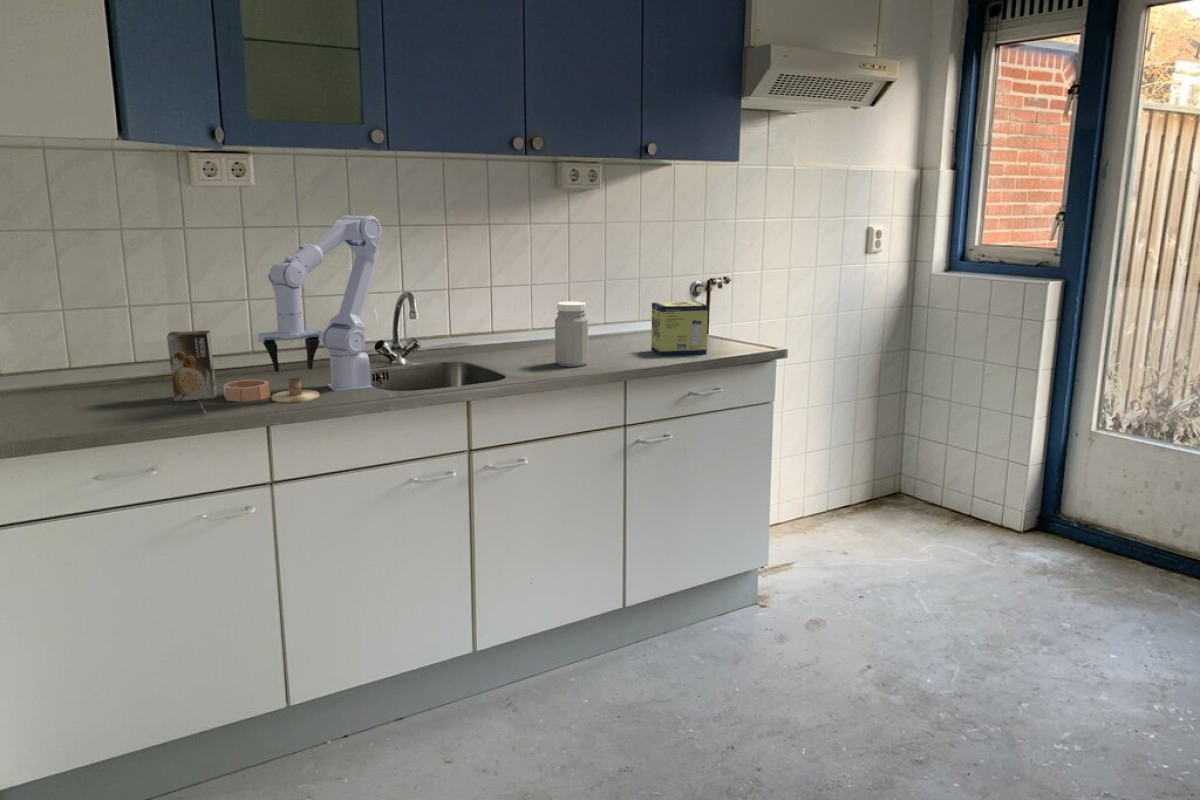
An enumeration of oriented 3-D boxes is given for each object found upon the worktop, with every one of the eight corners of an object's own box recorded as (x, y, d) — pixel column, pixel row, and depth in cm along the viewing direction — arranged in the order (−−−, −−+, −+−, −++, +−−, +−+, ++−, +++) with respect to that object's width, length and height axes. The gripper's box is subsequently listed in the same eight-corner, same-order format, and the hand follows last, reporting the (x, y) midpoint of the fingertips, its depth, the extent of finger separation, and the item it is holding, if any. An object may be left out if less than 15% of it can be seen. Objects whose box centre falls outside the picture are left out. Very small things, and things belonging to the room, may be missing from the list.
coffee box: (217, 393, 222) (211, 329, 219) (214, 399, 216) (208, 333, 213) (177, 396, 220) (170, 331, 216) (173, 401, 214) (166, 335, 210)
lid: (314, 391, 224) (312, 372, 223) (324, 399, 214) (322, 380, 213) (268, 395, 219) (266, 376, 217) (276, 404, 209) (274, 384, 208)
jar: (548, 363, 263) (547, 302, 259) (574, 360, 269) (573, 300, 265) (569, 368, 256) (568, 305, 252) (595, 364, 262) (595, 303, 258)
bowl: (265, 392, 224) (264, 378, 224) (272, 399, 216) (271, 385, 215) (223, 396, 220) (221, 382, 219) (228, 404, 211) (227, 389, 210)
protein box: (650, 350, 286) (651, 302, 282) (696, 349, 289) (697, 301, 286) (659, 356, 276) (660, 306, 273) (707, 354, 279) (709, 304, 276)
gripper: (259, 317, 205) (264, 375, 208) (324, 313, 212) (327, 370, 215) (255, 313, 211) (259, 370, 214) (317, 310, 218) (321, 365, 221)
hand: (293, 369), depth 215 cm, fingers open, 7 cm apart
